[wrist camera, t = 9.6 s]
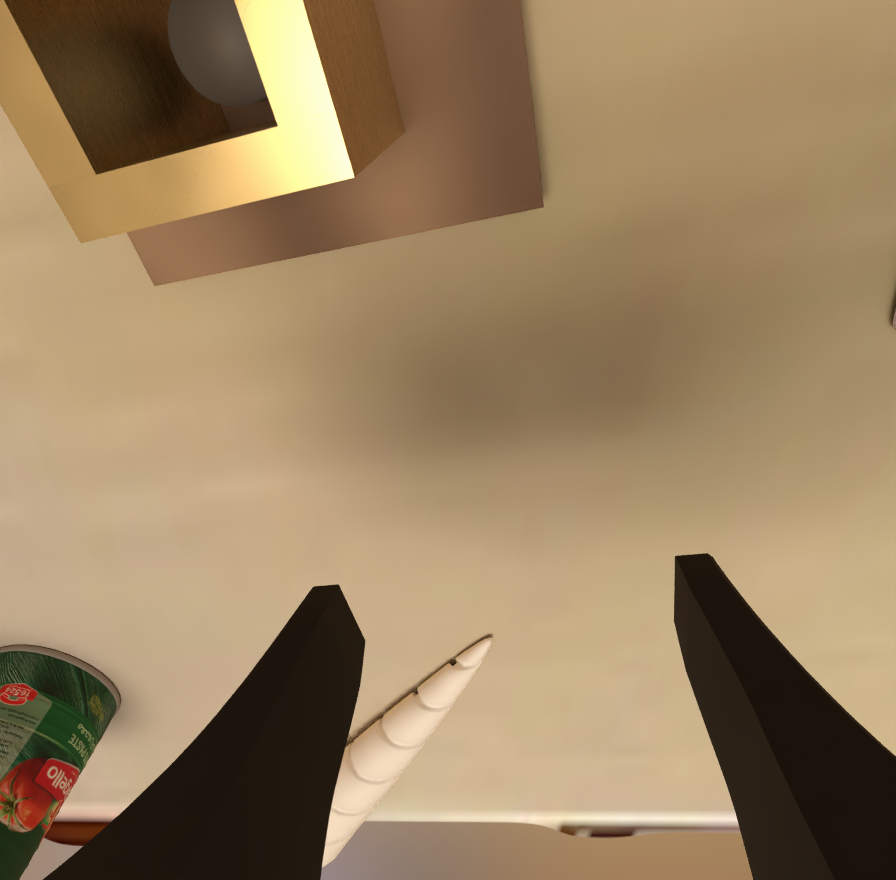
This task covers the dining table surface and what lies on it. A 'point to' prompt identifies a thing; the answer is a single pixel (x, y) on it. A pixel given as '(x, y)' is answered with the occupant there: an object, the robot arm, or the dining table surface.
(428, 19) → the post stand
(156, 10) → the brass collar
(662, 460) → the dining table surface
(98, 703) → the canned tomato
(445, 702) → the unicorn horn
